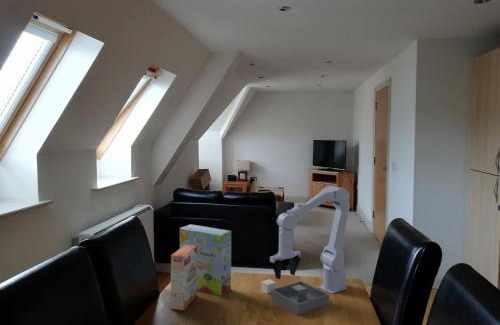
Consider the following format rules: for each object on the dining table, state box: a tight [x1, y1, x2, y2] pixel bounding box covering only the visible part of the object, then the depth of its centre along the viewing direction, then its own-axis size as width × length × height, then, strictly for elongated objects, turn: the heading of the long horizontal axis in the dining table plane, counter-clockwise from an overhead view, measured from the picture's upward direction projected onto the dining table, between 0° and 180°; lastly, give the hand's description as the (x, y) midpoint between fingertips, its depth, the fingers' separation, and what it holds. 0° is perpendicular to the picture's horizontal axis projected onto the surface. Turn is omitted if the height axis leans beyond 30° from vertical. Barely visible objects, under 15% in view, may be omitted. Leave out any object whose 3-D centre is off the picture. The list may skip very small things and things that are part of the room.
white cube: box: [260, 278, 277, 295], centre depth 157 cm, size 4×4×4 cm
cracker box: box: [170, 245, 198, 311], centre depth 144 cm, size 14×6×21 cm, turn 168°
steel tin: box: [290, 285, 307, 303], centre depth 147 cm, size 4×4×5 cm
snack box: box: [179, 224, 232, 297], centre depth 158 cm, size 22×9×26 cm, turn 62°
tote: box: [270, 280, 330, 316], centre depth 147 cm, size 16×16×4 cm
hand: (285, 276), depth 151 cm, fingers open, 7 cm apart
